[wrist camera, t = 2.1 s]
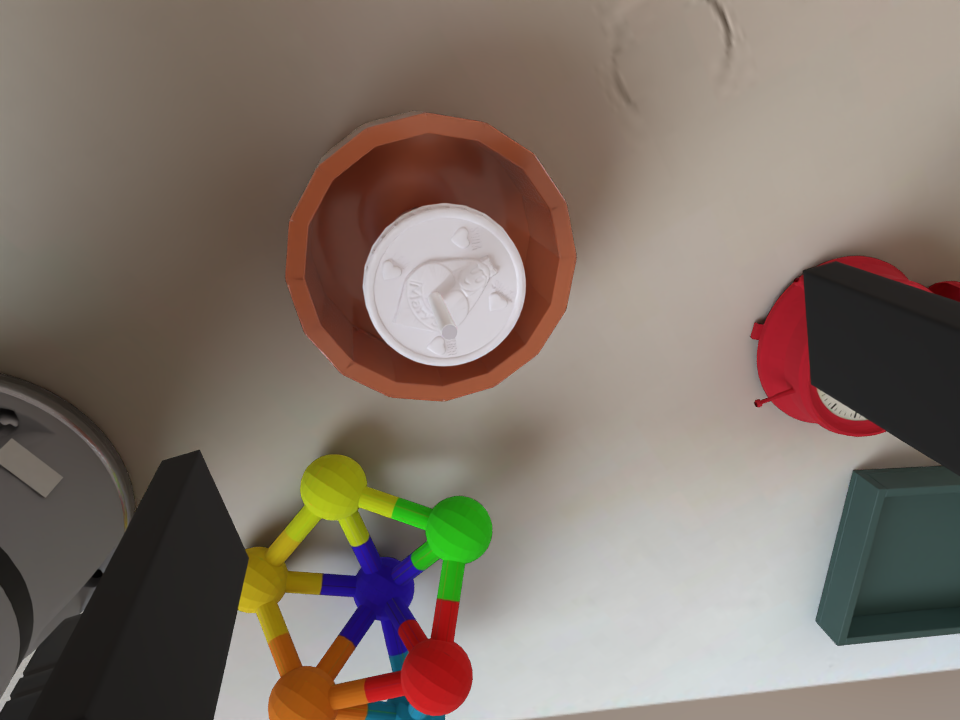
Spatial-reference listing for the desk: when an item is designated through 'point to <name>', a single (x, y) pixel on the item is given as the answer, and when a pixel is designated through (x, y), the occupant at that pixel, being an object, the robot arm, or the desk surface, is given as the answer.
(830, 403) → the alarm clock
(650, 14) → the desk surface
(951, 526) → the tray
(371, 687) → the molecular model
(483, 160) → the pot
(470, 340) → the smoothie
